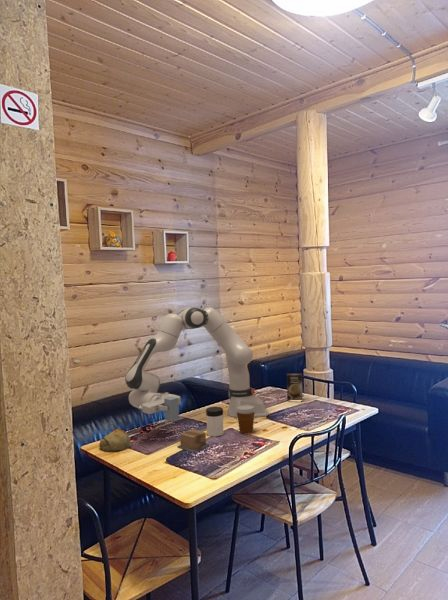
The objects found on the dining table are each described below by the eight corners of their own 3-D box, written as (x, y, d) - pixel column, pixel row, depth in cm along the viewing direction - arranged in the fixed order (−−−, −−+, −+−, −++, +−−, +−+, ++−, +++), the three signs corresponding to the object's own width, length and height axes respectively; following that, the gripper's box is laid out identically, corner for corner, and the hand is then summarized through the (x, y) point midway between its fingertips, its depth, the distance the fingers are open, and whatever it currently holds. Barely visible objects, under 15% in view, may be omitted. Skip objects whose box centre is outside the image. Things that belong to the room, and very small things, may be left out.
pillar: (172, 417, 208) (171, 396, 208) (179, 418, 205) (177, 397, 205) (165, 419, 205) (164, 398, 204) (171, 421, 202) (170, 400, 201)
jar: (211, 438, 206) (210, 412, 205) (202, 433, 213) (201, 408, 212) (227, 433, 211) (226, 409, 210) (218, 429, 218) (217, 405, 217)
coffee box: (287, 402, 262) (286, 375, 261) (287, 399, 268) (286, 372, 267) (302, 402, 260) (302, 375, 259) (302, 399, 266) (302, 372, 266)
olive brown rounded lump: (136, 443, 203) (135, 426, 203) (123, 453, 191) (123, 435, 191) (108, 441, 207) (108, 424, 207) (94, 451, 195) (93, 433, 195)
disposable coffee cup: (232, 432, 213) (231, 407, 212) (245, 426, 220) (244, 403, 219) (247, 436, 207) (246, 411, 206) (260, 430, 213) (259, 406, 213)
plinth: (193, 440, 203) (192, 427, 203) (209, 445, 197) (208, 432, 196) (177, 447, 196) (176, 434, 196) (193, 452, 189) (192, 438, 189)
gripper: (135, 401, 206) (154, 405, 196) (168, 391, 221) (188, 395, 212) (136, 414, 206) (155, 419, 197) (169, 403, 221) (188, 408, 212)
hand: (172, 406), depth 204 cm, fingers closed on pillar, 4 cm apart
